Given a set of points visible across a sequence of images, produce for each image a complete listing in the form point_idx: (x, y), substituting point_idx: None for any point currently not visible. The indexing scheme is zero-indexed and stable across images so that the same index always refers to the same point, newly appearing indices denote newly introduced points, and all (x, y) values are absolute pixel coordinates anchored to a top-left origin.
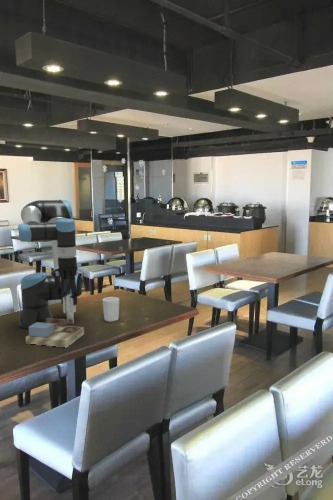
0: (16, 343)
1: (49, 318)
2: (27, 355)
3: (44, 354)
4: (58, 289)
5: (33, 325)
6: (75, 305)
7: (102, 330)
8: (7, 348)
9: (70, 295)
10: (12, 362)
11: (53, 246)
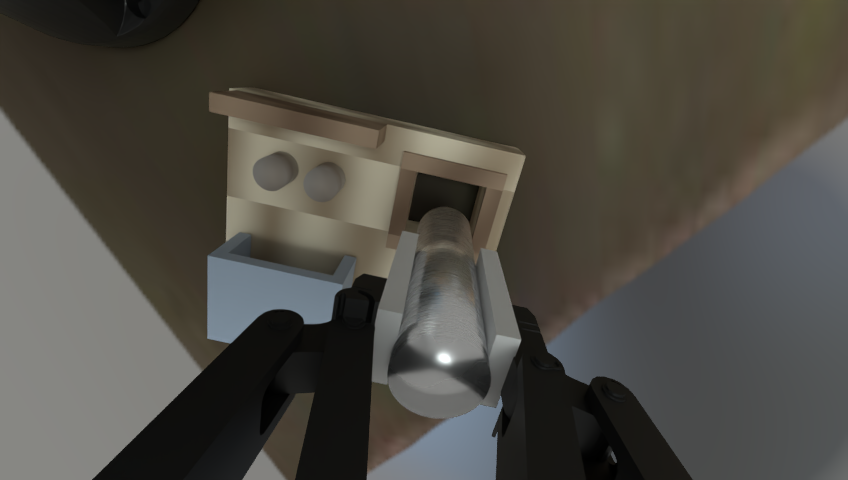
0: (191, 283)
1: (238, 110)
2: None
3: (382, 397)
4: (257, 450)
5: (223, 317)
6: (503, 284)
7: (639, 74)
8: (188, 337)
9: (463, 388)
10: (291, 451)
11: None
